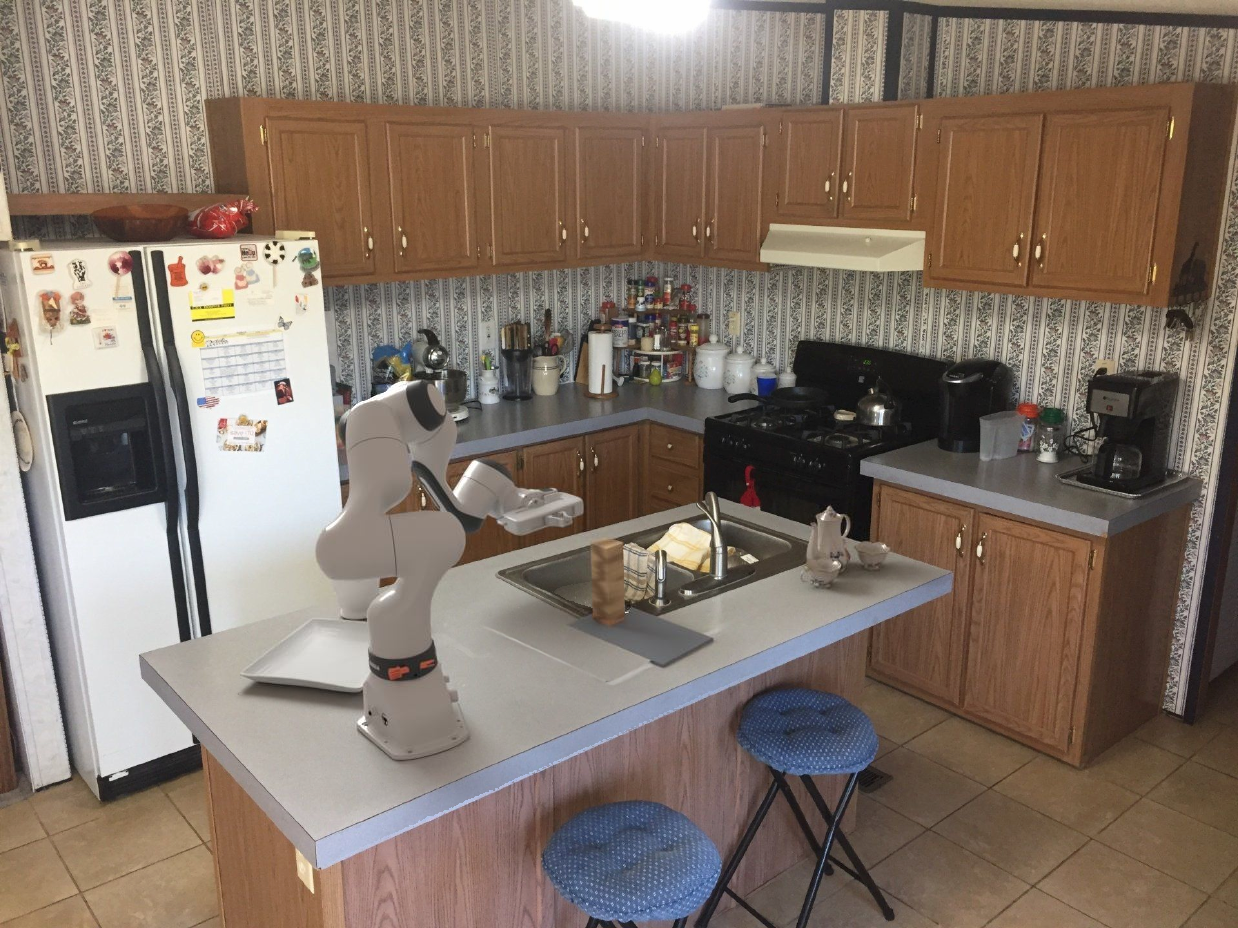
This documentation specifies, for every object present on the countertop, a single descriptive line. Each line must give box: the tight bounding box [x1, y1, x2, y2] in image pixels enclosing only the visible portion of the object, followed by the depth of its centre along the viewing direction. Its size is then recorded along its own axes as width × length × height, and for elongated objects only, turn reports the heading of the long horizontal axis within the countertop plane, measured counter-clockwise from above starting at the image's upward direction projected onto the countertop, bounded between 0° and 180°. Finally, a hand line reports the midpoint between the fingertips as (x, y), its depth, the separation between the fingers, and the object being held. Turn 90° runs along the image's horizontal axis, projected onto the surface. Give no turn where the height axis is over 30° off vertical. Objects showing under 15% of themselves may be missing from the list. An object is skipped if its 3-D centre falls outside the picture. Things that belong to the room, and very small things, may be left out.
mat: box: [567, 606, 714, 668], centre depth 219 cm, size 28×16×1 cm, turn 46°
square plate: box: [239, 617, 370, 693], centre depth 209 cm, size 27×27×4 cm
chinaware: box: [799, 505, 892, 589], centre depth 247 cm, size 28×17×17 cm, turn 131°
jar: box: [331, 579, 381, 621], centre depth 231 cm, size 11×10×15 cm
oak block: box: [590, 537, 626, 626], centre depth 222 cm, size 5×5×18 cm
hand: (567, 522), depth 228 cm, fingers closed
